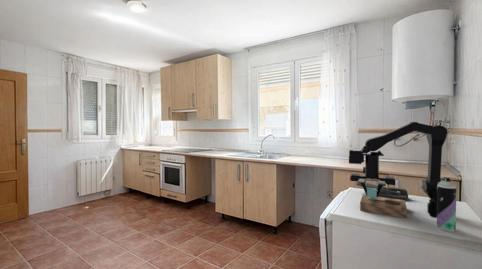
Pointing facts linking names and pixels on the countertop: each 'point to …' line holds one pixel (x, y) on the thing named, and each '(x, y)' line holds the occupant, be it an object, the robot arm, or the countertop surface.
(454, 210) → the spray can
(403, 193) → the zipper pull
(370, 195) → the teal peg
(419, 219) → the countertop surface
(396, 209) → the keyhole plate
